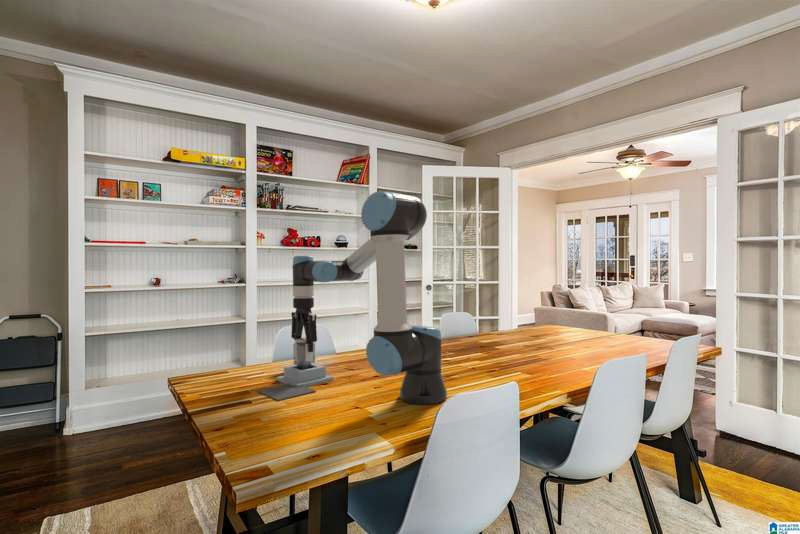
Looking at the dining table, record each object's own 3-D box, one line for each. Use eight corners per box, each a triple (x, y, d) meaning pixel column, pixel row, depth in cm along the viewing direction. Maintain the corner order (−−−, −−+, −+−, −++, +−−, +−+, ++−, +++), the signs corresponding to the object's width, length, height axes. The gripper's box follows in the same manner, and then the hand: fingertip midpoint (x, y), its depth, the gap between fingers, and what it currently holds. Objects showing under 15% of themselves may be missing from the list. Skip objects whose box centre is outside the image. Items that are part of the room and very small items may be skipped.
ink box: (317, 369, 178) (316, 340, 178) (315, 372, 173) (314, 342, 173) (295, 369, 177) (295, 340, 177) (293, 372, 172) (293, 343, 172)
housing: (333, 380, 161) (333, 366, 161) (297, 388, 150) (297, 374, 150) (311, 372, 172) (311, 360, 172) (276, 380, 161) (276, 366, 161)
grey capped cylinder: (316, 376, 161) (315, 338, 161) (301, 379, 157) (300, 341, 157) (307, 373, 166) (306, 336, 166) (292, 376, 161) (291, 339, 161)
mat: (316, 391, 147) (316, 390, 147) (278, 401, 137) (278, 399, 137) (294, 383, 157) (294, 382, 157) (257, 391, 147) (257, 390, 147)
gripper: (326, 298, 157) (327, 361, 157) (298, 295, 171) (299, 353, 171) (309, 299, 152) (309, 365, 152) (281, 296, 165) (281, 356, 166)
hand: (304, 359), depth 161 cm, fingers closed on grey capped cylinder, 6 cm apart
